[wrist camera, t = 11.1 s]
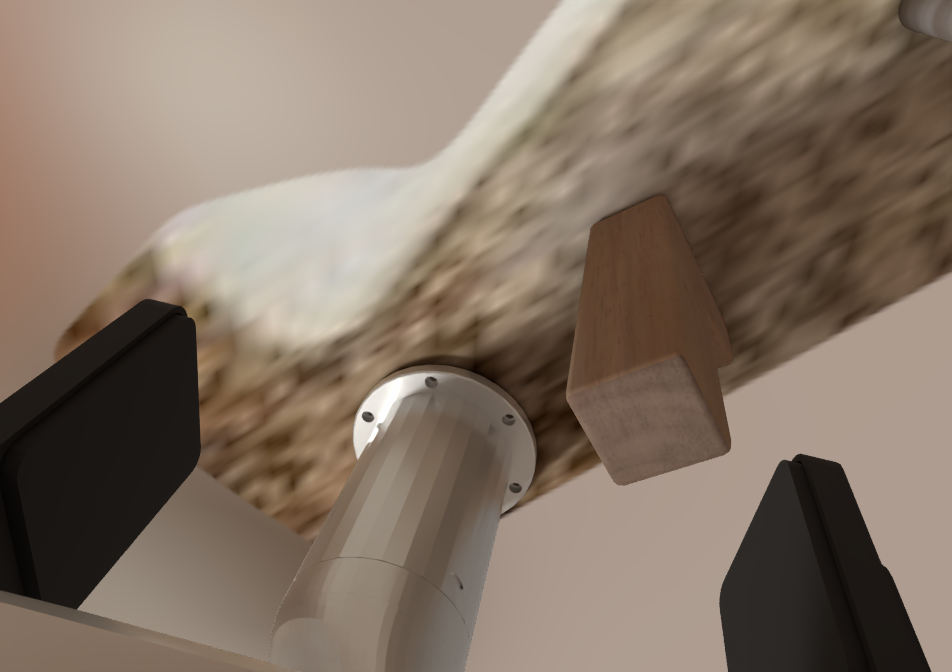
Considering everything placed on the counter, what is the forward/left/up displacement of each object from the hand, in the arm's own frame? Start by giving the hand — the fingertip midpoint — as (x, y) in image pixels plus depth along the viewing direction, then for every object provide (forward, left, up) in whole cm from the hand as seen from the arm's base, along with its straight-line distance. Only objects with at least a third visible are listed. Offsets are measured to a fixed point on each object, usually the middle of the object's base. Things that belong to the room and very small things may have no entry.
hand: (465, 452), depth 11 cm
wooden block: (-10, -4, -31) cm, 32 cm away
